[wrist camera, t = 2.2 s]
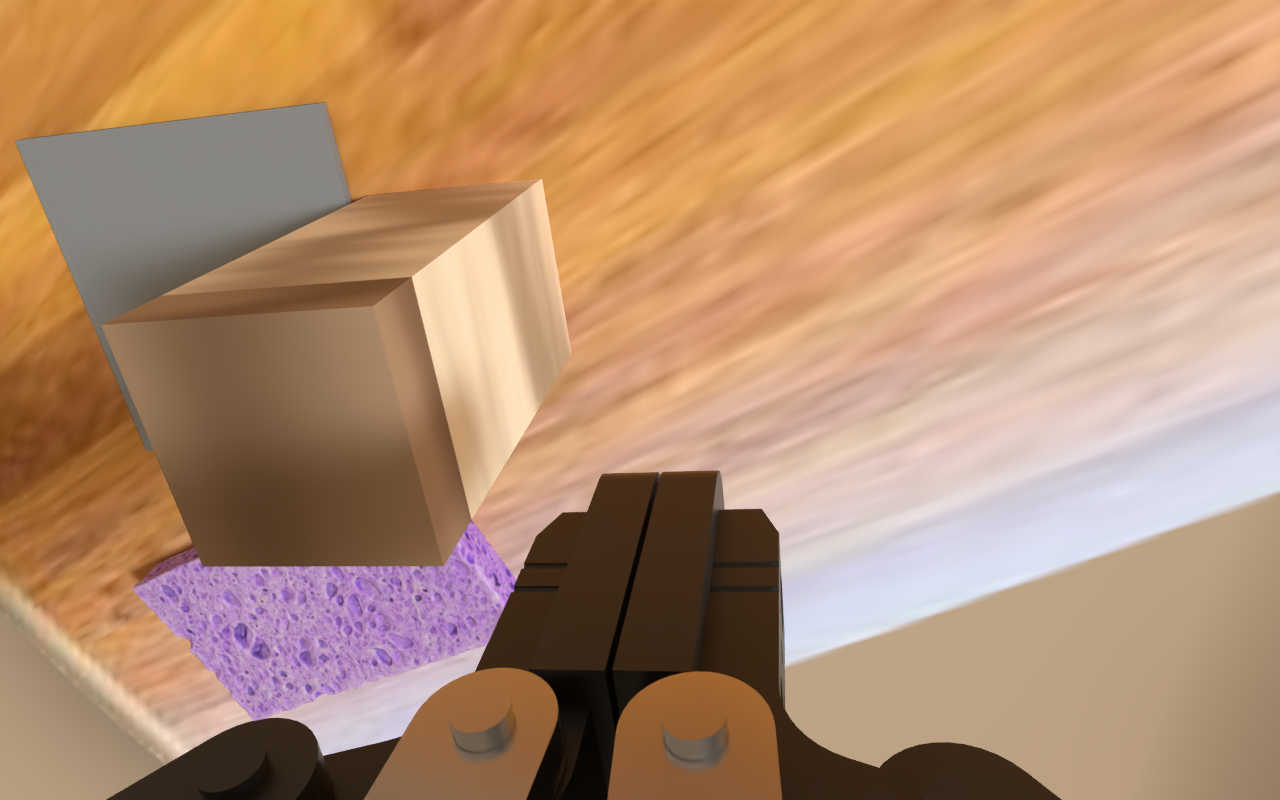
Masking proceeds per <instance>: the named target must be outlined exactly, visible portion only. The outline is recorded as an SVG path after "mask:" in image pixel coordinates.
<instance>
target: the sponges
mask: <svg viewBox="0 0 1280 800" xmlns="http://www.w3.org/2000/svg"><path fill="white" fill-rule="evenodd" d="M515 582H516V578H515V577H514V576H513V575H512V573H510V571H509V570H508V569H507V567H506V565H505V564H504V562H503V561H502V560H501V559H500V557H499V556H498V554H497V553H496V552H495V550H494V549H493V548H492V546H491V545H490V544H489V543H488V542H487V541H486V538H485V537H484V535H483V534H482V533H481V531H480V530H479V529H478V528H477V527H476V525H475V524H474V523H473V521H471V522H470V523H469V525H468V527H467V528H466V530H465V532H464V533H463V535H462V537H461V538H460V540H459V542H458V543H457V545H456V547H455V548H454V550H453V552H452V553H451V555H450V557H449V558H448V560H447V562H446V563H445V565H444V566H309V567H203V566H202V564H201V561H200V559H199V556H198V554H197V552H196V549H195V547H193V548H191V549H188V550H186V551H184V552H182V553H179V554H177V555H175V556H173V557H171V558H168V559H167V560H165V561H162V562H159V563H158V564H157V565H156V566H155V567H153V569H152V570H151V571H150V572H149V573H148V574H147V575H146V576H145V577H144V578H143V579H142V580H141V581H140V582H139V583H138V584H136V585H135V586H134V587H133V591H134V592H135V593H136V594H137V595H138V596H139V597H140V599H141V600H143V601H144V602H145V603H146V605H147V606H148V607H149V608H151V609H152V610H153V611H154V612H155V613H156V614H157V616H158V617H159V618H160V620H161V621H162V622H164V623H165V624H166V625H167V626H168V627H169V629H170V630H171V631H172V632H173V633H174V634H175V635H176V636H178V637H184V638H186V639H188V640H189V641H190V642H191V648H190V652H191V653H192V654H194V655H195V656H196V657H197V658H198V659H200V660H201V662H202V663H203V664H204V666H205V667H206V669H207V670H209V671H215V673H216V675H217V678H218V680H219V681H221V682H222V683H223V684H224V688H226V689H229V690H230V695H231V697H232V698H233V700H235V701H236V702H237V703H238V704H239V705H240V706H241V707H243V708H244V709H245V710H246V711H247V712H248V714H249V716H250V718H251V719H252V720H253V721H255V720H261V719H266V718H268V717H270V716H272V715H276V714H278V713H281V712H283V711H288V710H291V709H294V708H297V707H299V706H301V705H303V704H305V703H309V702H312V701H314V700H315V699H316V698H317V697H318V696H320V695H322V694H324V693H326V694H328V695H334V694H337V693H340V692H342V691H347V690H351V689H356V688H358V687H360V686H362V685H363V684H364V683H366V682H375V681H378V680H380V679H382V678H383V677H390V676H393V675H397V674H400V673H404V672H406V671H408V670H411V669H416V668H418V667H421V666H424V665H427V664H428V663H430V662H436V661H439V660H443V659H446V658H449V657H451V656H455V655H458V654H459V653H462V652H464V651H467V650H471V649H475V648H478V647H483V646H485V645H487V644H488V642H489V640H490V638H491V635H492V633H493V631H494V629H495V627H496V624H497V622H498V620H499V618H500V616H501V613H502V611H503V609H504V607H505V605H506V602H507V600H508V598H509V596H510V594H511V592H514V585H515Z"/></svg>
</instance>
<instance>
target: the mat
mask: <svg viewBox="0 0 1280 800" xmlns="http://www.w3.org/2000/svg"><path fill="white" fill-rule="evenodd" d="M15 142H16V145H17V147H18V149H19V152H20V154H21V156H22V159H23V161H24V163H25V166H26V168H27V170H28V173H29V175H30V178H31V180H32V182H33V185H34V187H35V189H36V192H37V194H38V196H39V199H40V201H41V203H42V206H43V208H44V211H45V213H46V215H47V218H48V220H49V222H50V225H51V227H52V229H53V232H54V234H55V236H56V239H57V241H58V244H59V246H60V248H61V251H62V253H63V255H64V258H65V260H66V262H67V265H68V267H69V269H70V272H71V274H72V277H73V279H74V281H75V284H76V286H77V288H78V291H79V293H80V295H81V298H82V300H83V302H84V305H85V307H86V310H87V312H88V314H89V317H90V319H91V321H92V324H93V326H94V328H95V331H96V333H97V335H98V338H99V340H100V343H101V345H102V347H103V350H104V352H105V354H106V357H107V359H108V361H109V364H110V366H111V369H112V371H113V373H114V376H115V378H116V380H117V383H118V385H119V387H120V390H121V392H122V394H123V397H124V399H125V402H126V404H127V406H128V409H129V411H130V413H131V416H132V418H133V420H134V423H135V425H136V427H137V430H138V432H139V435H140V437H141V439H142V442H143V444H144V446H145V449H146V450H154V449H153V447H152V445H151V442H150V440H149V438H148V435H147V433H146V430H145V428H144V426H143V423H142V421H141V419H140V416H139V414H138V411H137V409H136V407H135V404H134V402H133V400H132V397H131V395H130V392H129V390H128V388H127V385H126V383H125V381H124V378H123V376H122V373H121V371H120V369H119V366H118V364H117V362H116V359H115V357H114V354H113V352H112V350H111V347H110V345H109V343H108V340H107V338H106V335H105V333H104V331H103V328H102V326H101V325H102V324H104V323H106V322H108V321H110V320H112V319H114V318H116V317H118V316H120V315H122V314H124V313H126V312H128V311H130V310H133V309H135V308H137V307H139V306H141V305H143V304H145V303H147V302H149V301H151V300H153V299H155V298H157V297H159V296H161V295H163V294H166V293H168V292H170V291H172V290H174V289H176V288H178V287H180V286H182V285H184V284H186V283H188V282H190V281H192V280H194V279H196V278H198V277H201V276H203V275H205V274H207V273H209V272H211V271H213V270H215V269H217V268H219V267H221V266H223V265H225V264H227V263H229V262H231V261H234V260H236V259H238V258H240V257H242V256H244V255H246V254H248V253H250V252H252V251H254V250H256V249H258V248H260V247H262V246H264V245H267V244H269V243H271V242H273V241H275V240H277V239H279V238H281V237H283V236H285V235H287V234H289V233H291V232H293V231H295V230H297V229H300V228H302V227H304V226H306V225H308V224H310V223H312V222H314V221H316V220H318V219H320V218H322V217H324V216H326V215H328V214H330V213H333V212H335V211H337V210H339V209H341V208H343V207H345V206H347V205H349V204H351V203H352V201H351V197H350V194H349V190H348V186H347V182H346V179H345V175H344V171H343V167H342V164H341V160H340V156H339V152H338V149H337V145H336V141H335V137H334V134H333V130H332V126H331V122H330V119H329V115H328V111H327V107H326V104H325V102H322V103H314V104H306V105H297V106H289V107H281V108H273V109H265V110H257V111H248V112H240V113H232V114H224V115H216V116H208V117H199V118H191V119H183V120H175V121H167V122H159V123H150V124H142V125H134V126H126V127H118V128H110V129H101V130H93V131H85V132H77V133H69V134H61V135H52V136H44V137H36V138H28V139H21V140H16V141H15Z"/></svg>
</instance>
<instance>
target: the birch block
mask: <svg viewBox="0 0 1280 800" xmlns="http://www.w3.org/2000/svg"><path fill="white" fill-rule="evenodd" d="M101 326H102V328H103V331H104V333H105V335H106V338H107V340H108V343H109V345H110V347H111V350H112V352H113V354H114V357H115V359H116V362H117V364H118V366H119V369H120V371H121V373H122V376H123V378H124V381H125V383H126V385H127V388H128V390H129V392H130V395H131V397H132V400H133V402H134V404H135V407H136V409H137V411H138V414H139V416H140V419H141V421H142V423H143V426H144V428H145V430H146V433H147V435H148V438H149V440H150V442H151V445H152V447H153V449H154V452H155V454H156V457H157V459H158V461H159V464H160V466H161V469H162V471H163V473H164V476H165V478H166V480H167V483H168V485H169V488H170V490H171V492H172V495H173V497H174V499H175V502H176V504H177V507H178V509H179V511H180V514H181V516H182V518H183V521H184V523H185V526H186V528H187V530H188V533H189V535H190V537H191V540H192V542H193V545H194V547H195V549H196V552H197V554H198V556H199V559H200V561H201V564H202V566H203V567H309V566H444V565H445V563H446V562H447V560H448V558H449V557H450V555H451V553H452V552H453V550H454V548H455V547H456V545H457V543H458V542H459V540H460V538H461V537H462V535H463V533H464V532H465V530H466V528H467V527H468V525H469V523H470V522H471V520H472V518H473V517H474V515H475V513H476V512H477V510H478V508H479V507H480V505H481V503H482V502H483V500H484V498H485V497H486V495H487V493H488V492H489V490H490V488H491V487H492V485H493V483H494V482H495V480H496V478H497V477H498V475H499V473H500V472H501V470H502V468H503V467H504V465H505V463H506V462H507V460H508V459H509V457H510V455H511V454H512V452H513V450H514V449H515V447H516V445H517V444H518V442H519V440H520V439H521V437H522V435H523V434H524V432H525V430H526V429H527V427H528V425H529V424H530V422H531V420H532V419H533V417H534V415H535V414H536V412H537V410H538V409H539V407H540V405H541V404H542V402H543V400H544V399H545V397H546V395H547V394H548V392H549V390H550V389H551V387H552V385H553V384H554V382H555V380H556V379H557V377H558V375H559V374H560V372H561V370H562V369H563V367H564V365H565V364H566V362H567V360H568V359H569V357H570V355H571V348H570V342H569V336H568V330H567V324H566V319H565V313H564V307H563V301H562V295H561V289H560V283H559V277H558V271H557V265H556V260H555V254H554V248H553V242H552V236H551V230H550V224H549V218H548V212H547V206H546V200H545V195H544V189H543V183H542V178H541V179H531V180H521V181H511V182H500V183H490V184H480V185H469V186H459V187H449V188H439V189H428V190H418V191H408V192H397V193H387V194H377V195H368V196H366V197H363V198H361V199H359V200H357V201H355V202H353V203H351V204H349V205H347V206H345V207H343V208H341V209H339V210H337V211H335V212H333V213H330V214H328V215H326V216H324V217H322V218H320V219H318V220H316V221H314V222H312V223H310V224H308V225H306V226H304V227H302V228H300V229H297V230H295V231H293V232H291V233H289V234H287V235H285V236H283V237H281V238H279V239H277V240H275V241H273V242H271V243H269V244H267V245H264V246H262V247H260V248H258V249H256V250H254V251H252V252H250V253H248V254H246V255H244V256H242V257H240V258H238V259H236V260H234V261H231V262H229V263H227V264H225V265H223V266H221V267H219V268H217V269H215V270H213V271H211V272H209V273H207V274H205V275H203V276H201V277H198V278H196V279H194V280H192V281H190V282H188V283H186V284H184V285H182V286H180V287H178V288H176V289H174V290H172V291H170V292H168V293H166V294H163V295H161V296H159V297H157V298H155V299H153V300H151V301H149V302H147V303H145V304H143V305H141V306H139V307H137V308H135V309H133V310H130V311H128V312H126V313H124V314H122V315H120V316H118V317H116V318H114V319H112V320H110V321H108V322H106V323H104V324H102V325H101Z"/></svg>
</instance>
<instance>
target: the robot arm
mask: <svg viewBox="0 0 1280 800" xmlns="http://www.w3.org/2000/svg"><path fill="white" fill-rule="evenodd" d="M784 664H785V646H784V616H783V598H782V580H781V562H780V544H779V533H778V531H777V530H776V528H775V527H774V526H773V524H772V523H771V521H770V520H769V519H768V517H767V516H766V514H765V513H764V512H763V510H762V509H733V510H724V498H723V487H722V479H721V474H720V471H682V472H662V474H661V475H660V473H659V472H651V473H612V474H602V476H601V477H600V479H599V482H598V485H597V487H596V490H595V493H594V495H593V498H592V501H591V503H590V506H589V509H588V511H587V512H570V513H562V514H561V515H560V516H558V517H557V518H556V519H555V520H554V521H553V522H552V523H551V524H549V525H548V526H547V527H546V528H545V529H544V530H543V531H542V532H541V533H539V534H538V535H537V536H536V538H535V541H534V543H533V545H532V547H531V549H530V552H529V554H528V556H527V558H526V560H525V563H524V569H521V571H520V574H519V576H518V578H517V580H516V582H515V585H514V592H511V594H510V596H509V598H508V600H507V602H506V605H505V607H504V609H503V611H502V613H501V616H500V618H499V620H498V622H497V624H496V627H495V629H494V631H493V633H492V635H491V638H490V640H489V642H488V644H487V646H486V649H485V651H484V653H483V655H482V657H481V660H480V662H479V664H478V666H477V669H476V671H475V672H473V673H470V674H468V675H465V676H462V677H460V678H458V679H456V680H454V681H452V682H450V683H448V684H447V685H445V686H444V687H442V688H440V689H439V690H438V691H437V692H435V693H434V694H433V695H432V696H430V697H429V698H428V699H427V701H426V702H425V703H424V704H423V705H422V706H421V707H420V709H419V710H418V711H417V713H416V714H415V716H414V717H413V719H412V721H411V722H410V724H409V726H408V727H407V729H406V730H405V732H404V734H403V735H402V736H401V737H398V738H395V739H391V740H388V741H384V742H380V743H376V744H372V745H367V746H363V747H359V748H355V749H350V750H346V751H342V752H338V753H334V754H329V755H325V756H323V755H322V753H321V750H320V747H319V745H318V742H317V739H316V737H315V736H314V734H313V732H312V731H311V730H310V729H309V728H308V727H307V726H305V725H304V724H302V723H300V722H298V721H294V720H291V719H284V718H268V719H261V720H255V721H251V722H248V723H244V724H241V725H238V726H236V727H233V728H231V729H228V730H226V731H224V732H222V733H220V734H218V735H216V736H214V737H212V738H211V739H209V740H207V741H206V742H204V743H202V744H200V745H199V746H197V747H195V748H194V749H192V750H190V751H188V752H187V753H185V754H183V755H182V756H180V757H178V758H177V759H175V760H173V761H171V762H170V763H168V764H166V765H165V766H163V767H161V768H159V769H158V770H156V771H154V772H153V773H151V774H149V775H148V776H146V777H144V778H143V779H141V780H139V781H138V782H136V783H134V784H132V785H131V786H129V787H127V788H126V789H124V790H122V791H120V792H119V793H117V794H115V795H114V796H112V797H110V798H108V799H107V800H1061V799H1060V798H1059V797H1057V796H1056V795H1055V794H1053V793H1052V792H1051V791H1050V790H1048V789H1047V788H1046V787H1044V786H1043V785H1042V784H1041V783H1039V782H1038V781H1037V780H1036V779H1034V778H1033V777H1032V776H1030V775H1029V774H1028V773H1027V772H1025V771H1024V770H1022V769H1021V768H1019V767H1018V766H1016V765H1015V764H1014V763H1012V762H1010V761H1008V760H1006V759H1004V758H1003V757H1001V756H999V755H997V754H994V753H992V752H989V751H986V750H984V749H981V748H977V747H973V746H969V745H965V744H957V743H948V742H947V743H928V744H922V745H917V746H914V747H910V748H907V749H905V750H903V751H901V752H899V753H897V754H895V755H893V756H892V757H891V758H889V759H888V760H887V761H885V762H884V763H883V764H882V766H881V767H880V768H878V767H875V766H872V765H868V764H865V763H862V762H859V761H856V760H852V759H849V758H846V757H844V756H841V755H839V754H836V753H833V752H831V751H829V750H827V749H826V748H824V747H822V746H820V745H818V744H817V743H815V742H814V741H812V740H811V739H810V738H808V737H807V736H806V735H805V734H804V733H803V732H801V731H800V730H799V729H798V728H797V727H796V726H795V724H794V723H793V722H792V720H791V719H790V718H789V716H788V714H787V712H786V711H785V665H784Z"/></svg>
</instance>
